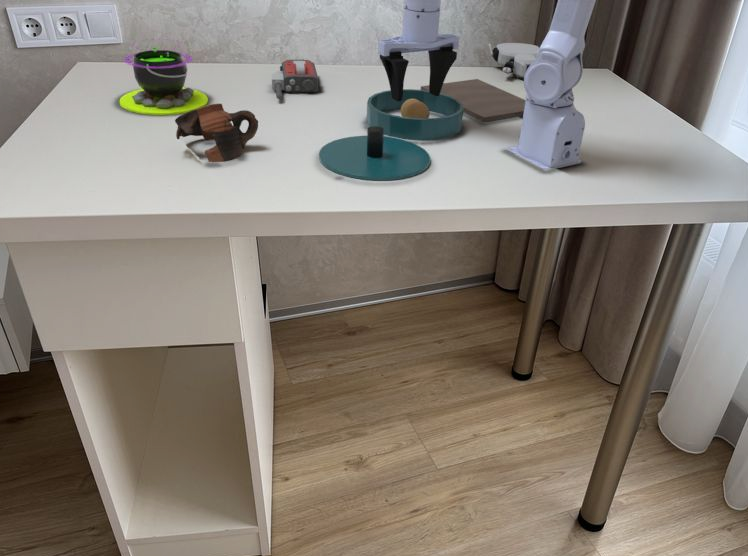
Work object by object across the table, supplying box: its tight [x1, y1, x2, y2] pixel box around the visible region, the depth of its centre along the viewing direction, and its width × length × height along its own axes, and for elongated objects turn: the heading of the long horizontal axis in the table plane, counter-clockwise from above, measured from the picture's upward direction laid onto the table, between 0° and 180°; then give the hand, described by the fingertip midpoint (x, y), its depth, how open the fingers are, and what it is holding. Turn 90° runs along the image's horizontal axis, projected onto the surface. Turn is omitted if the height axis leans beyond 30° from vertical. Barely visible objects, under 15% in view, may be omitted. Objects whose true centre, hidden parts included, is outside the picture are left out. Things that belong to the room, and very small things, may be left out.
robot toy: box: [488, 42, 540, 79], centre depth 150 cm, size 12×4×15 cm
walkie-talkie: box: [271, 58, 320, 101], centre depth 132 cm, size 9×4×20 cm
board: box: [420, 78, 526, 123], centre depth 132 cm, size 20×14×1 cm
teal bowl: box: [366, 88, 464, 141], centre depth 118 cm, size 16×16×4 cm
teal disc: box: [318, 126, 431, 181], centre depth 104 cm, size 17×17×5 cm
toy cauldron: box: [119, 31, 209, 116], centre depth 120 cm, size 15×15×11 cm
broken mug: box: [174, 103, 259, 163], centre depth 104 cm, size 12×10×8 cm
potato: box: [400, 99, 430, 119], centre depth 118 cm, size 6×4×4 cm
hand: (415, 97), depth 117 cm, fingers open, 7 cm apart
